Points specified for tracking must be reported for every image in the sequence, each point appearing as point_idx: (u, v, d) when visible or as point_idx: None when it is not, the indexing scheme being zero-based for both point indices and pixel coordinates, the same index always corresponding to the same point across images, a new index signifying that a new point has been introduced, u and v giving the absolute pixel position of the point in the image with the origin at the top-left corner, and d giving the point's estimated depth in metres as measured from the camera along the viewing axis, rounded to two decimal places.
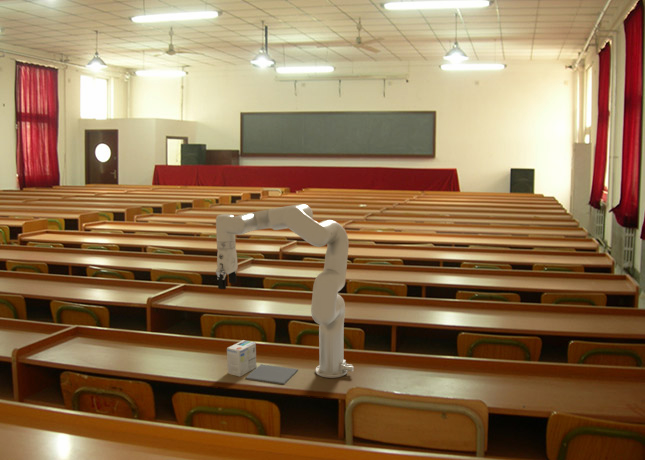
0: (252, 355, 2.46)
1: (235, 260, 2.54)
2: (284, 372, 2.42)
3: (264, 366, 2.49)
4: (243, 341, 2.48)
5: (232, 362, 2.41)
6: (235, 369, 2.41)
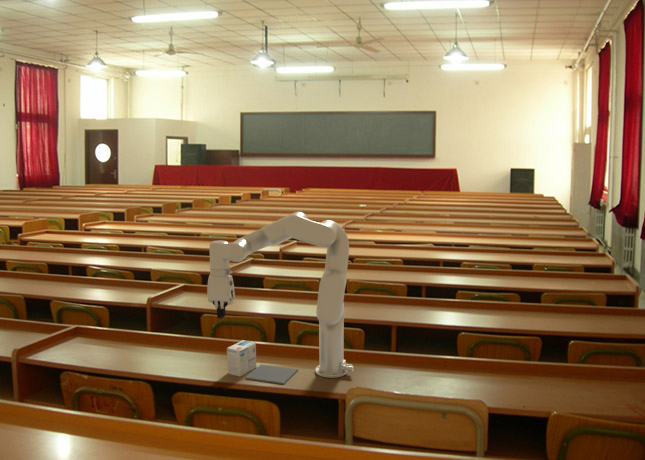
0: (252, 355, 2.46)
1: None
2: (284, 372, 2.42)
3: (264, 366, 2.49)
4: (243, 341, 2.49)
5: (232, 362, 2.41)
6: (235, 369, 2.41)
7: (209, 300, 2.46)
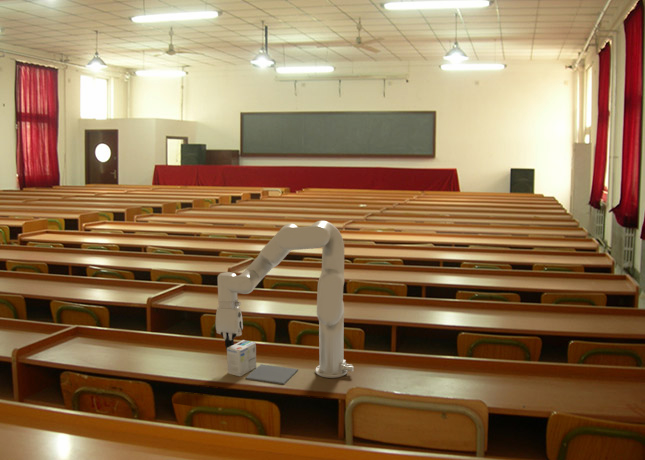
0: (252, 355, 2.46)
1: None
2: (284, 372, 2.42)
3: (264, 366, 2.49)
4: (243, 341, 2.48)
5: (232, 362, 2.41)
6: (235, 369, 2.41)
7: (217, 331, 2.46)
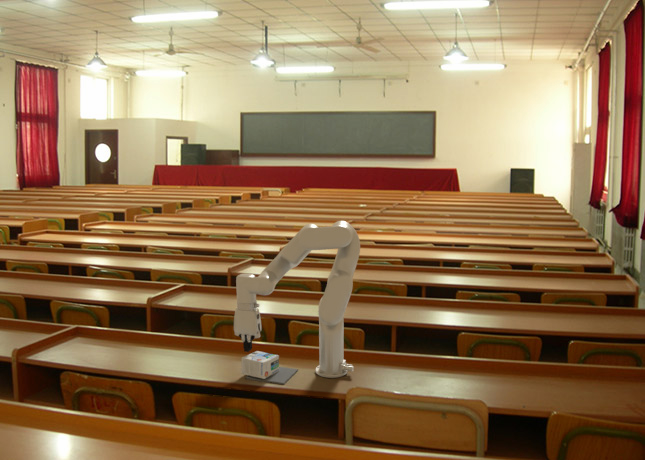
0: None
1: None
2: (284, 372, 2.42)
3: None
4: (276, 359, 2.42)
5: (251, 367, 2.37)
6: (246, 369, 2.38)
7: (235, 333, 2.44)
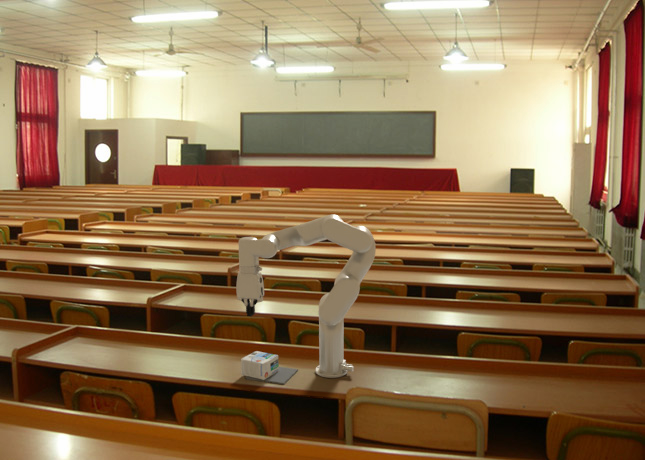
0: None
1: None
2: (284, 372, 2.42)
3: None
4: (276, 359, 2.42)
5: (251, 368, 2.37)
6: (246, 370, 2.38)
7: (238, 298, 2.41)
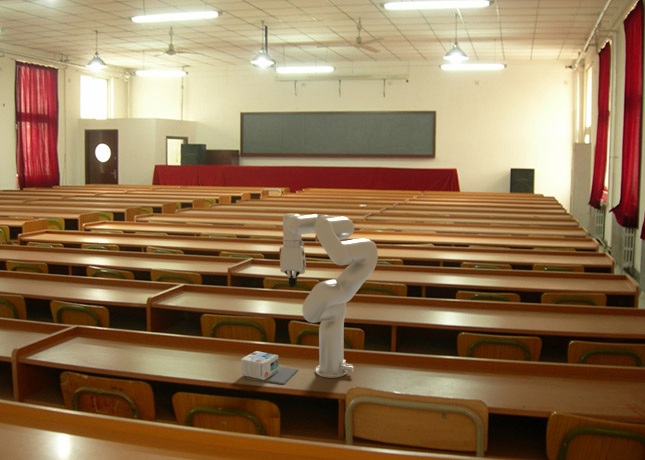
0: None
1: None
2: (284, 372, 2.42)
3: None
4: (276, 359, 2.42)
5: (251, 368, 2.37)
6: (246, 370, 2.38)
7: (281, 270, 2.60)
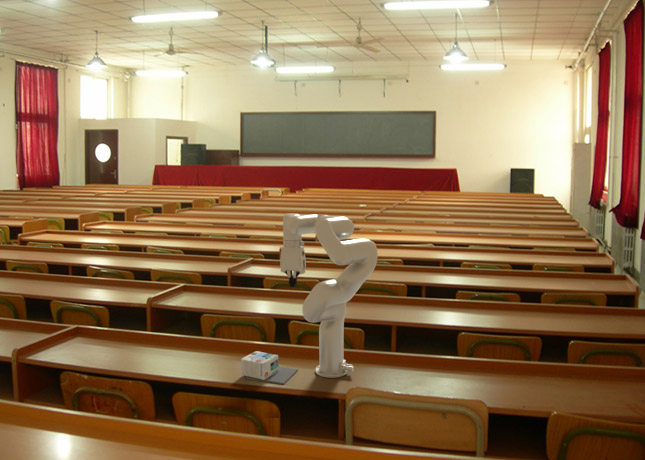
0: None
1: None
2: (284, 372, 2.42)
3: None
4: (276, 359, 2.42)
5: (251, 368, 2.37)
6: (246, 370, 2.38)
7: (281, 270, 2.60)
